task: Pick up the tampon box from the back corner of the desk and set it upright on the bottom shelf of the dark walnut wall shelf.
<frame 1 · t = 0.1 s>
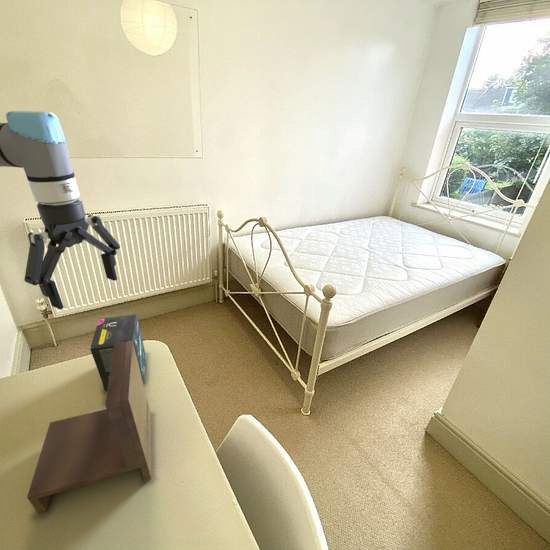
hand: (87, 292, 71), 23 cm above the table, tool pointing down, fingers open, 13 cm apart
step shelf: (103, 459, 61), on the table
tampon box: (127, 373, 80), on the table
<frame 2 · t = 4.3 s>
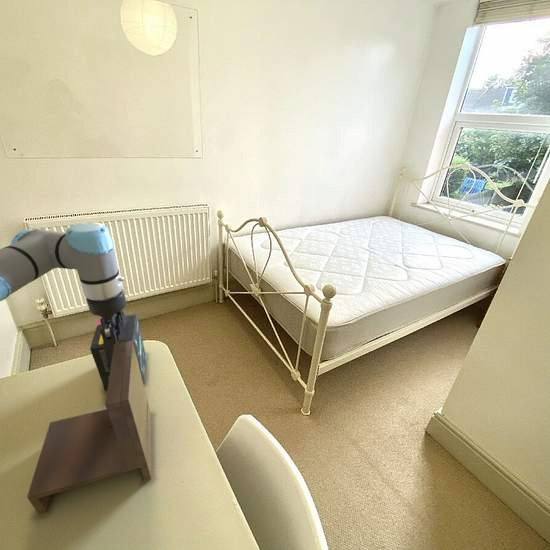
hand: (124, 364, 79), 3 cm above the table, tool pointing down, fingers closed on tampon box, 11 cm apart
tampon box: (127, 373, 80), on the table, touching gripper
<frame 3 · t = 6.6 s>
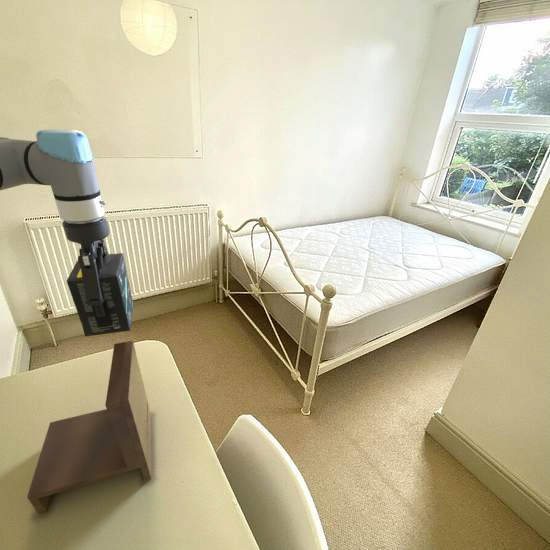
hand: (108, 309, 70), 20 cm above the table, tool pointing down, fingers closed on tampon box, 11 cm apart
tampon box: (111, 320, 72), point 17 cm above the table, touching gripper
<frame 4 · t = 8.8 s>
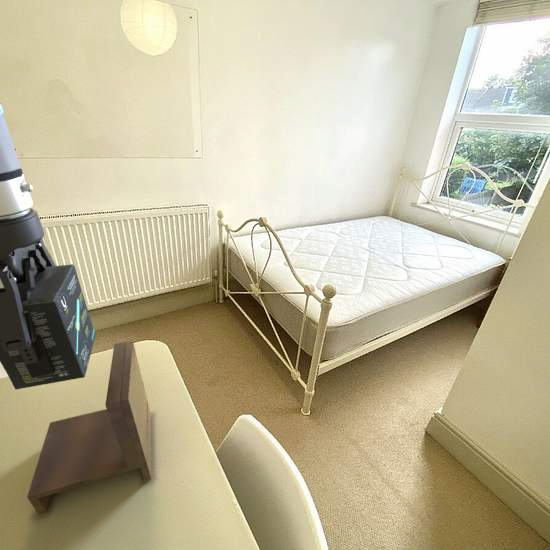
hand: (54, 346, 49), 28 cm above the table, tool pointing down, fingers closed on tampon box, 11 cm apart
tampon box: (60, 360, 50), point 25 cm above the table, touching gripper
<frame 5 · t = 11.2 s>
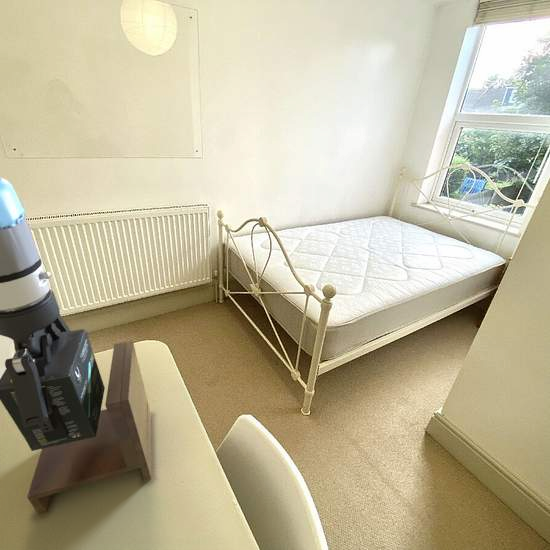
hand: (66, 405, 52), 17 cm above the table, tool pointing down, fingers closed on tampon box, 11 cm apart
tampon box: (72, 417, 53), point 14 cm above the table, touching gripper
when the fingers open (9 cm above the table, at t = 13.6 s): tampon box stays where it is, resting on step shelf.
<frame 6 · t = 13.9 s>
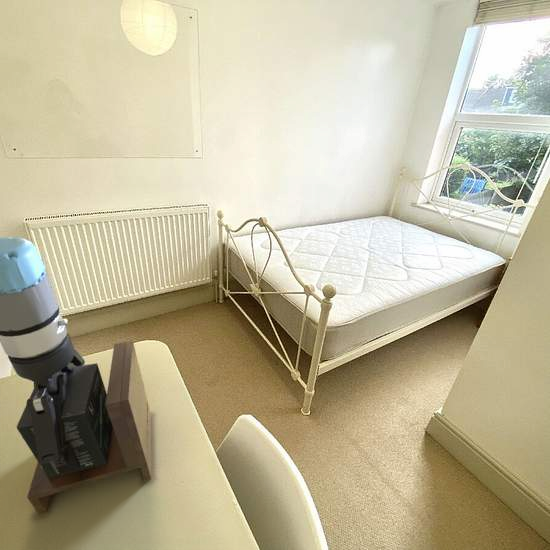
hand: (78, 432, 56), 10 cm above the table, tool pointing down, fingers open, 13 cm apart
tampon box: (84, 444, 57), point 6 cm above the table, touching step shelf
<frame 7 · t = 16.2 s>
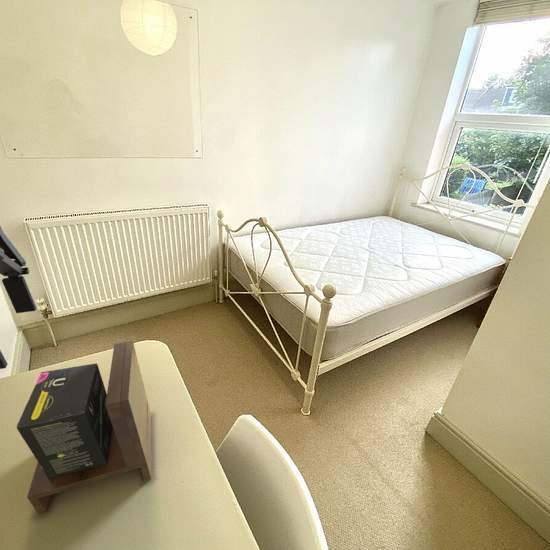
hand: (12, 336, 47), 30 cm above the table, tool pointing down, fingers open, 13 cm apart
nothing on the table moved.
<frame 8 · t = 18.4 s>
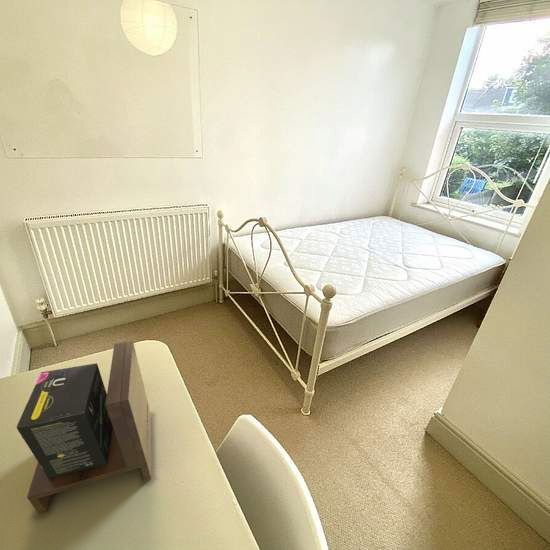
nothing on the table moved.
at the end: tampon box 0.0 cm from the target spot on the step shelf, point 5.8 cm above the step shelf's base; tampon box tilted 0°; the gripper is holding nothing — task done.
